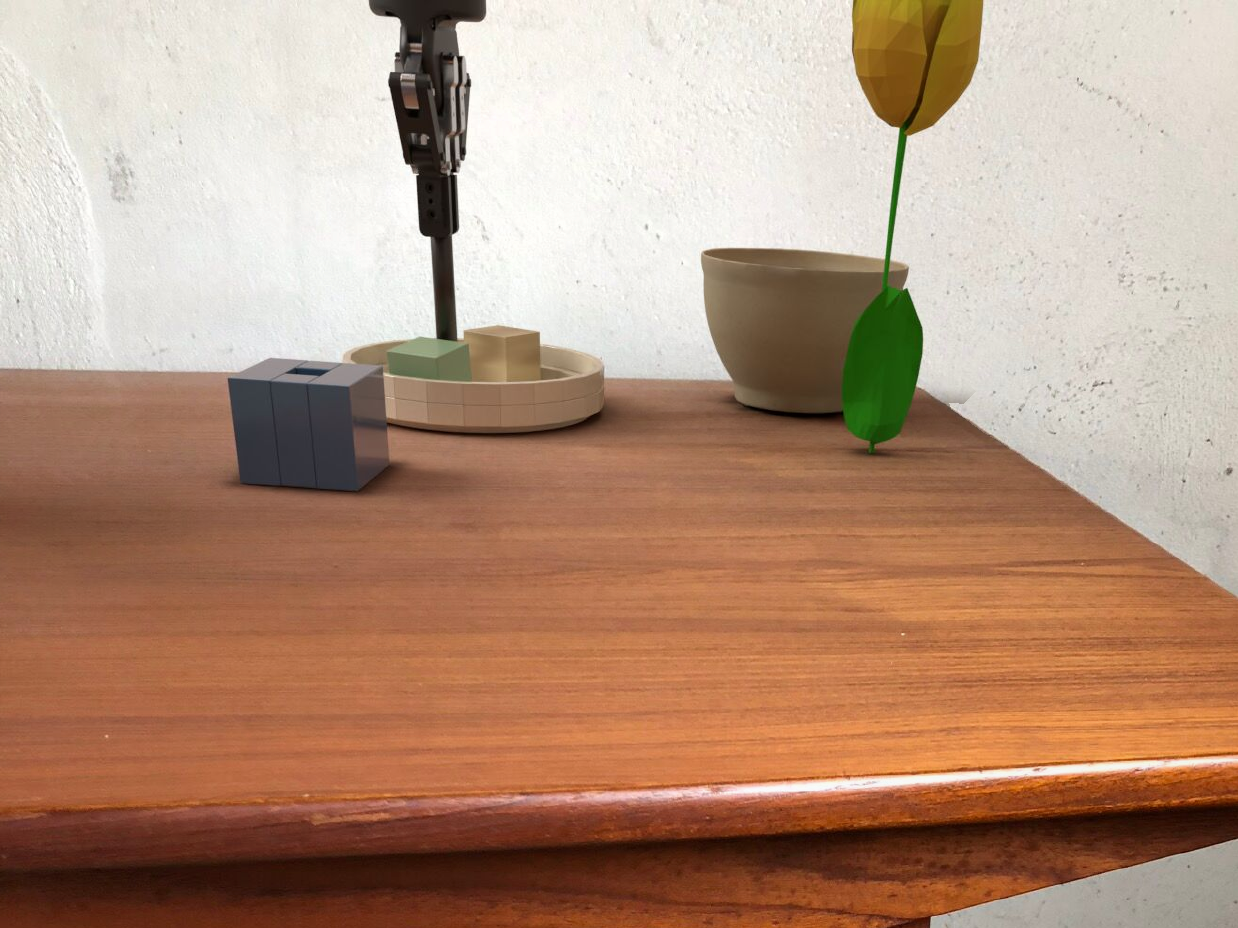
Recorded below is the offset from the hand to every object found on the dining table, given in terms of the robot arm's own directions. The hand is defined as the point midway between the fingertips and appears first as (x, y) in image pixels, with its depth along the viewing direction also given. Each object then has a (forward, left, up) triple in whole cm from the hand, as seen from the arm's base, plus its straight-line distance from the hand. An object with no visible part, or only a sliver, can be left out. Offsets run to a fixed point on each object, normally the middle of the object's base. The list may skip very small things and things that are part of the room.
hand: (439, 234), depth 99 cm
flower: (+31, -3, -12) cm, 34 cm away
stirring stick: (0, 0, -10) cm, 10 cm away
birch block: (+2, +8, -11) cm, 14 cm away
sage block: (0, -2, -11) cm, 11 cm away
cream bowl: (+1, +3, -12) cm, 12 cm away
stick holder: (-4, -20, -12) cm, 24 cm away
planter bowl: (+25, +13, -12) cm, 31 cm away
